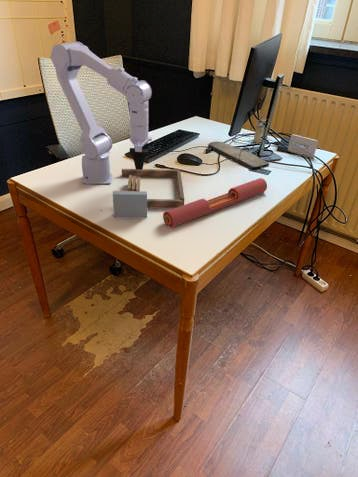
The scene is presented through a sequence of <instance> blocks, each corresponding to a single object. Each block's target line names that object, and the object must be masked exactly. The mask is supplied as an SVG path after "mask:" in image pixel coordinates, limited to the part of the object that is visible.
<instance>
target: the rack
mask: <svg viewBox="0 0 358 477" xmlns="http://www.w3.org/2000/svg"><path fill="white" fill-rule="evenodd" d="M129 175H132V177H133V176H136V178H137V177H140V178H142V177H144V178H147V177H148V178H149V177H150V178H176V181H177V182H176V183H177V190H178V199H177V198H176V199H175V198H174V199H170V198H169V199H167V198H165V199H164V198H163V199H162V198H159V199H156V198H149V199H148V198H147V209H174V208H177V207H180V206H183V205H185V194H184V193H185V192H184V187H183V186H184V185H183V181H182V173H181V169H161V168H160V169H159V168H158V169H157V168H156V169H155V168H154V169H152V168H148V169H147V168H143V169H142V170H136V168H121V177H129Z"/></svg>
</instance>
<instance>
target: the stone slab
mask: <svg viewBox="0 0 358 477" xmlns="http://www.w3.org/2000/svg"><path fill="white" fill-rule="evenodd" d="M207 146H208V148H209V149H210V148H211V149H210V150H212V149H213V150H214V151H213V150H212V151H213V152H215V153H217V154H219V155H221V156H223V157H224V158H227V159H229V160H231V161H232V162H235V163H237V164H239V165H241V166H244V167H245V168H247V169H250V170H253V168H257V167H259V166H264V165H265V166H270V162H268V161H266V160H264V159H263V158H261V157H259V156H257V155H255V154H254V153H251V152H249V151H246V150H244V149H242V148H239V147H236V146H234V145H231V144H228V143H225V142H223V141H212V142H209V143H208V144H207Z"/></svg>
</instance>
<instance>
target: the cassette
mask: <svg viewBox="0 0 358 477" xmlns="http://www.w3.org/2000/svg"><path fill="white" fill-rule="evenodd" d="M318 142H319V141H318V140H317V139H313V138H309V137H306V136H305V137H304V136H302V135H297V134H294V133H293V134H291V135H290V139H289V143H288V148H287V151H288V152H290V153H293V154H297V155H301V156H303V157H307V158H315V154H316V151H317V150H316V149H317V147H318ZM301 144H302V145H301ZM303 145H305V146H303Z"/></svg>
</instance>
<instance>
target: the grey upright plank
mask: <svg viewBox="0 0 358 477" xmlns="http://www.w3.org/2000/svg"><path fill="white" fill-rule="evenodd" d="M147 199H148V192H147V191H145V190H144V191H142V190H140V191H128V190H126V191H125V190H123V191H121V190H116V191H115V190H113V191H112V206H113V207H112V208H113V217H114V218H127V219H128V218H129V219H130V218H132V219H133V218H134V219H135V218H142V219H143V218H144V219H145V218H148V208H147Z"/></svg>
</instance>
